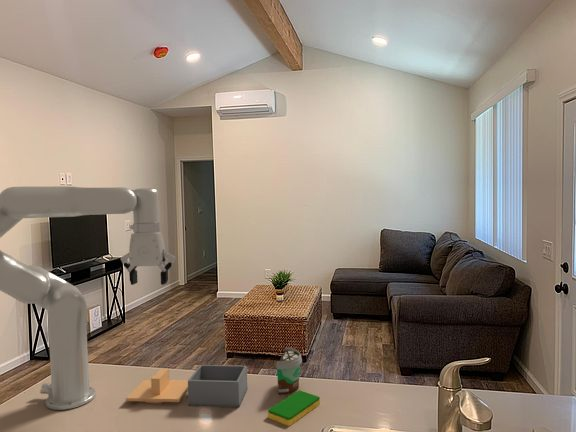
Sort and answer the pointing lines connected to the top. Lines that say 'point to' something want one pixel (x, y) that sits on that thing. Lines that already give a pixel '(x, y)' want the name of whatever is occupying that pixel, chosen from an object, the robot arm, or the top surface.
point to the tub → (217, 386)
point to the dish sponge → (293, 407)
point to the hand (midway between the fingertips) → (149, 283)
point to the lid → (160, 389)
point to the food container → (288, 371)
